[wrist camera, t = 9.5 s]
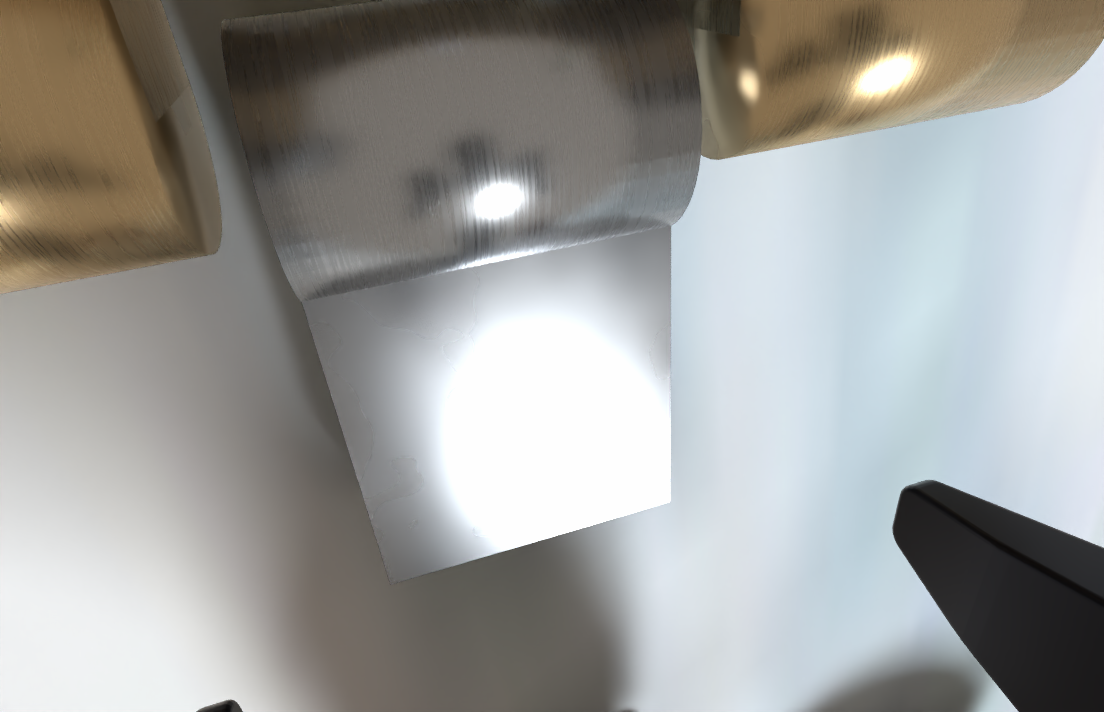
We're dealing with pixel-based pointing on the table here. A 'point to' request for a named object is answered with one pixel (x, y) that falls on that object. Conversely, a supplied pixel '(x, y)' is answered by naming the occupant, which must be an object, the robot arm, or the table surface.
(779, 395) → the table surface
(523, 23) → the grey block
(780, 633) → the table surface
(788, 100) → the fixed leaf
